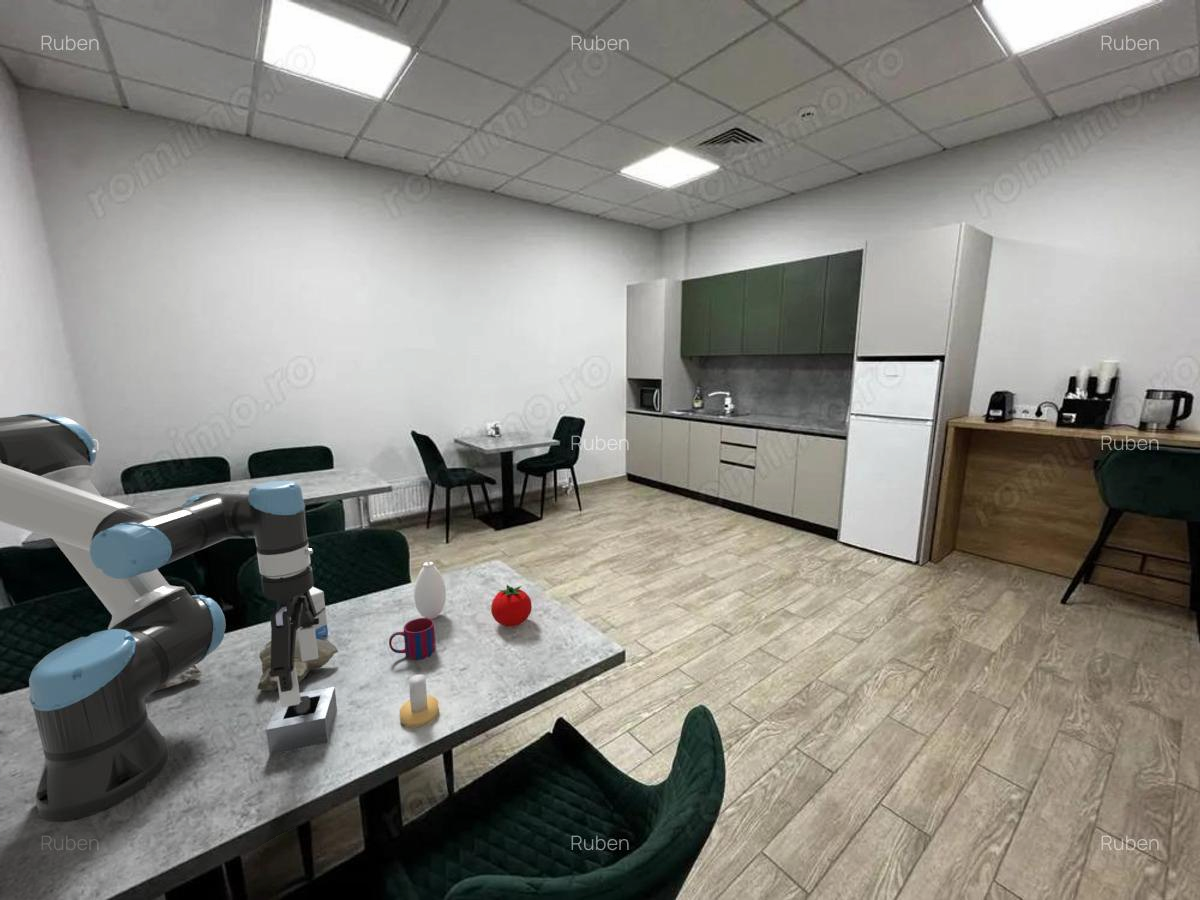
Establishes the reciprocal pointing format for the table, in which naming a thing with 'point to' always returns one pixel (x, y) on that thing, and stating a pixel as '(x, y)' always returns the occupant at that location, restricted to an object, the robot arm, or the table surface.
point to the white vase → (429, 591)
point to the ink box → (318, 612)
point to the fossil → (302, 667)
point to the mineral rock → (183, 677)
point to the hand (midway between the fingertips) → (301, 680)
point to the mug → (417, 639)
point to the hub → (418, 704)
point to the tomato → (511, 606)
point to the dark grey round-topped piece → (303, 706)
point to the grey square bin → (302, 723)
